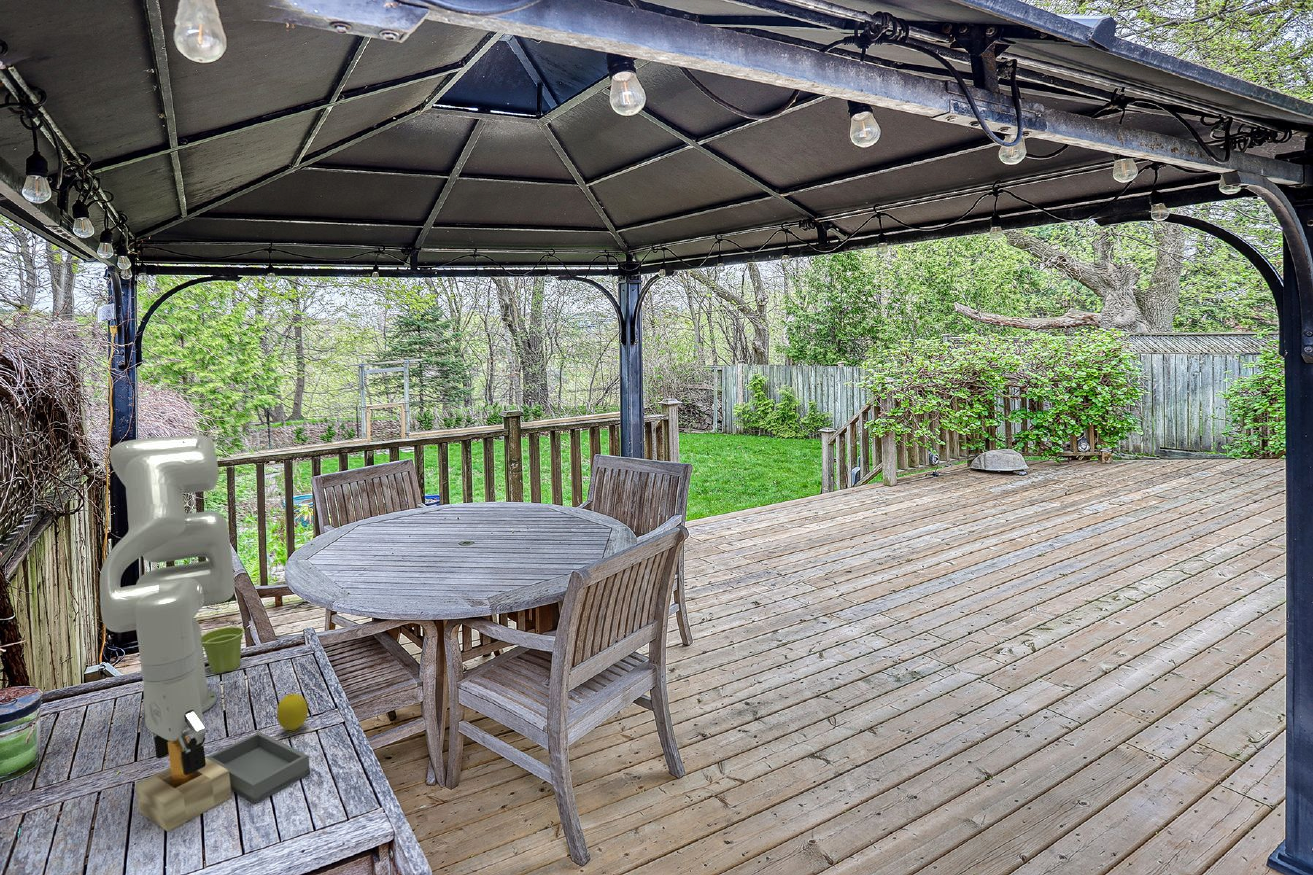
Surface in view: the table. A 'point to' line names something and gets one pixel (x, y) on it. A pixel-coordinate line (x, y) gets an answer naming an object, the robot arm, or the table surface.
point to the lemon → (292, 711)
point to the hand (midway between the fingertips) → (180, 762)
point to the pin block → (182, 795)
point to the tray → (261, 766)
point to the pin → (177, 764)
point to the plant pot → (223, 648)
